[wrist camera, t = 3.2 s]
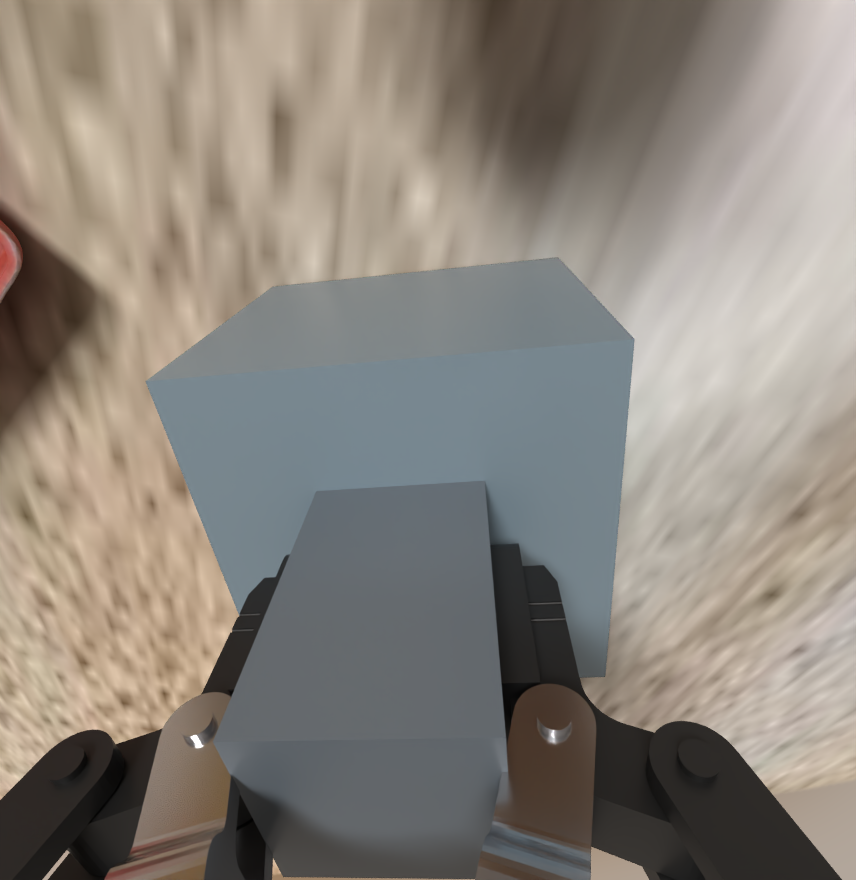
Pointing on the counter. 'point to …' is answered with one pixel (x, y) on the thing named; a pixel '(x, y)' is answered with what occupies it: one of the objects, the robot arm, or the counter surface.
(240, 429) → the grey block
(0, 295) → the plant saucer
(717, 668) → the counter surface
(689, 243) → the counter surface
